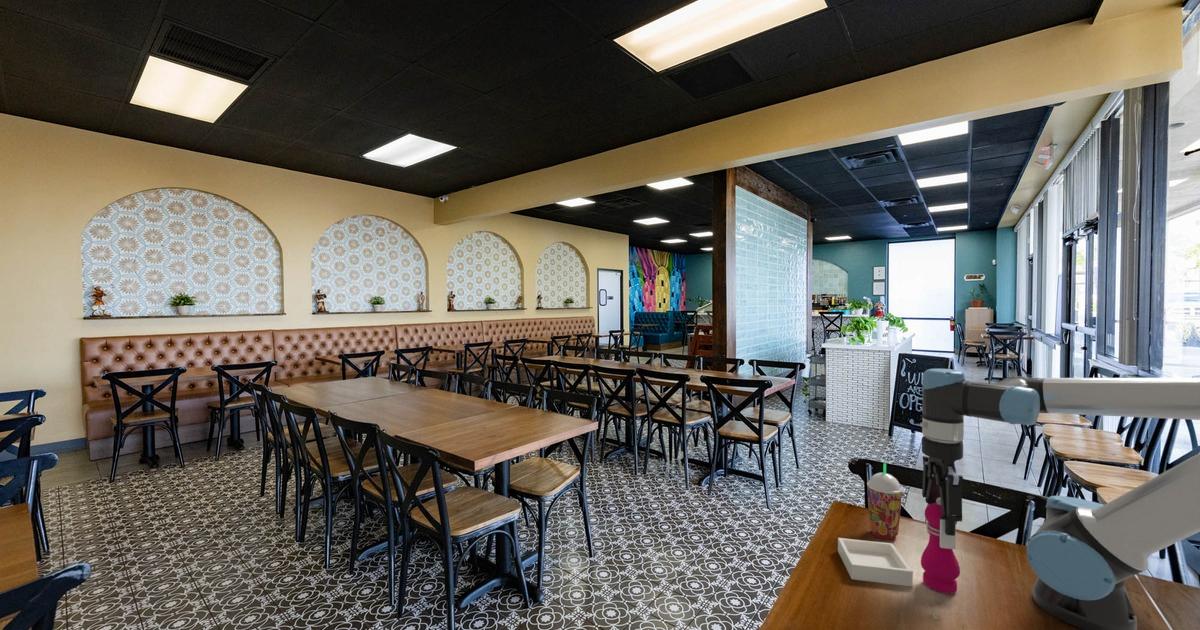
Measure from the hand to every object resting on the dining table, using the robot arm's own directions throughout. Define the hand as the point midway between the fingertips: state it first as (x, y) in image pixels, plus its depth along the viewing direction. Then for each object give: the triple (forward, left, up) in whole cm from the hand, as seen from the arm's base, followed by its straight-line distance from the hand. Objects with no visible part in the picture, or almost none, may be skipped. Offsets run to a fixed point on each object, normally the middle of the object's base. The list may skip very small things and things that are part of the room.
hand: (940, 540), depth 107 cm
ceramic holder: (+12, -5, -11) cm, 17 cm away
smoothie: (+4, -23, -11) cm, 26 cm away
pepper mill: (0, 0, -11) cm, 11 cm away
